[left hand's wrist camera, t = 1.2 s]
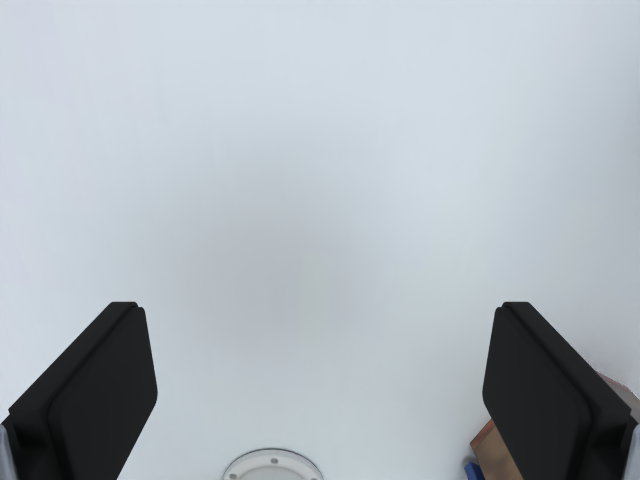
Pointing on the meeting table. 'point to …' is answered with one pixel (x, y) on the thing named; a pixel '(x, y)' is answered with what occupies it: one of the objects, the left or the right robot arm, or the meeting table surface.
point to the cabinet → (495, 454)
